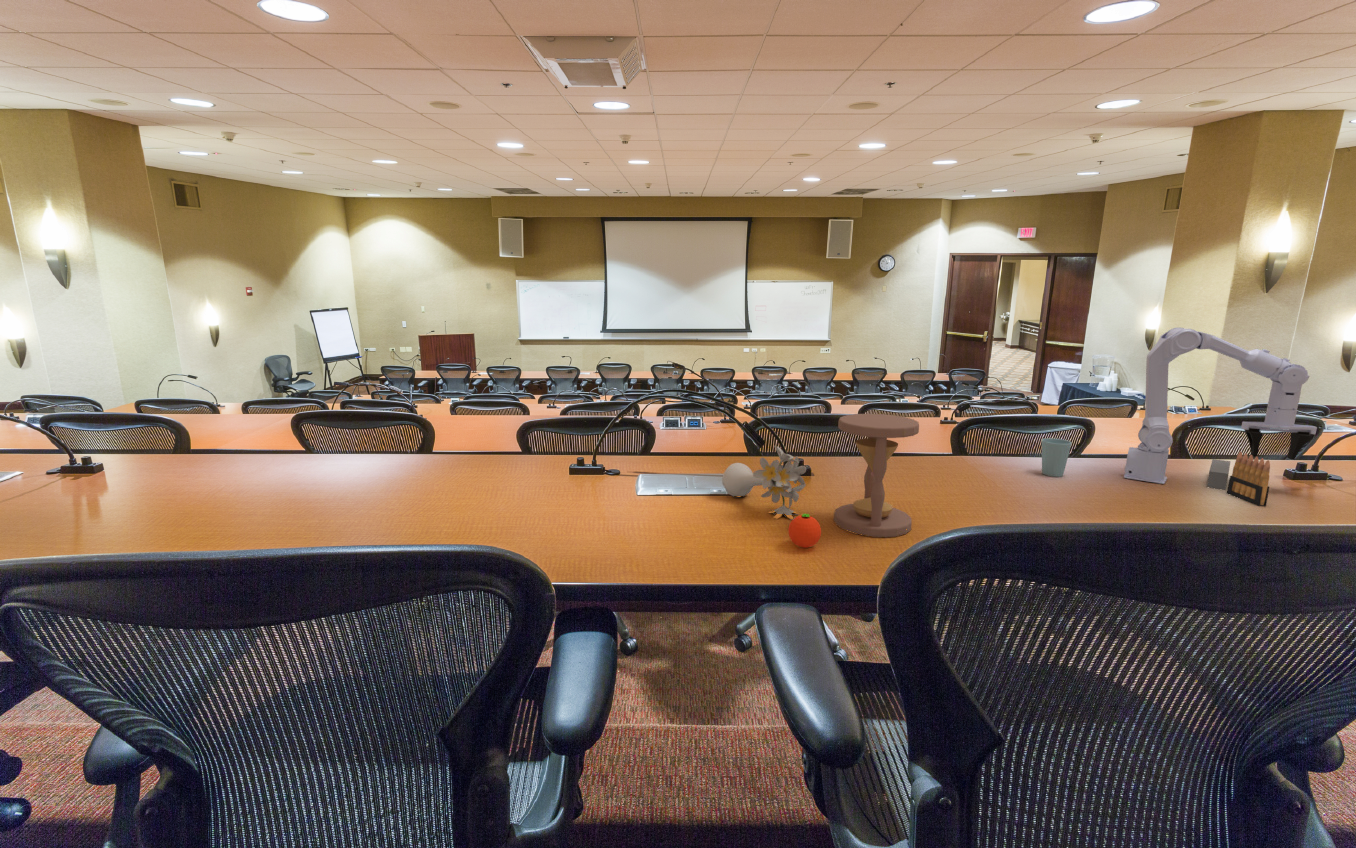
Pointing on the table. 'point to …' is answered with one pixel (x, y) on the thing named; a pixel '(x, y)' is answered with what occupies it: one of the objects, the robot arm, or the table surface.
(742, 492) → the flower vase
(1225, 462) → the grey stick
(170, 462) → the table surface
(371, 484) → the table surface
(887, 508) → the hourglass
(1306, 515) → the table surface
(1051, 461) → the cup
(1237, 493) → the ammunition clip
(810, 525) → the clementine
